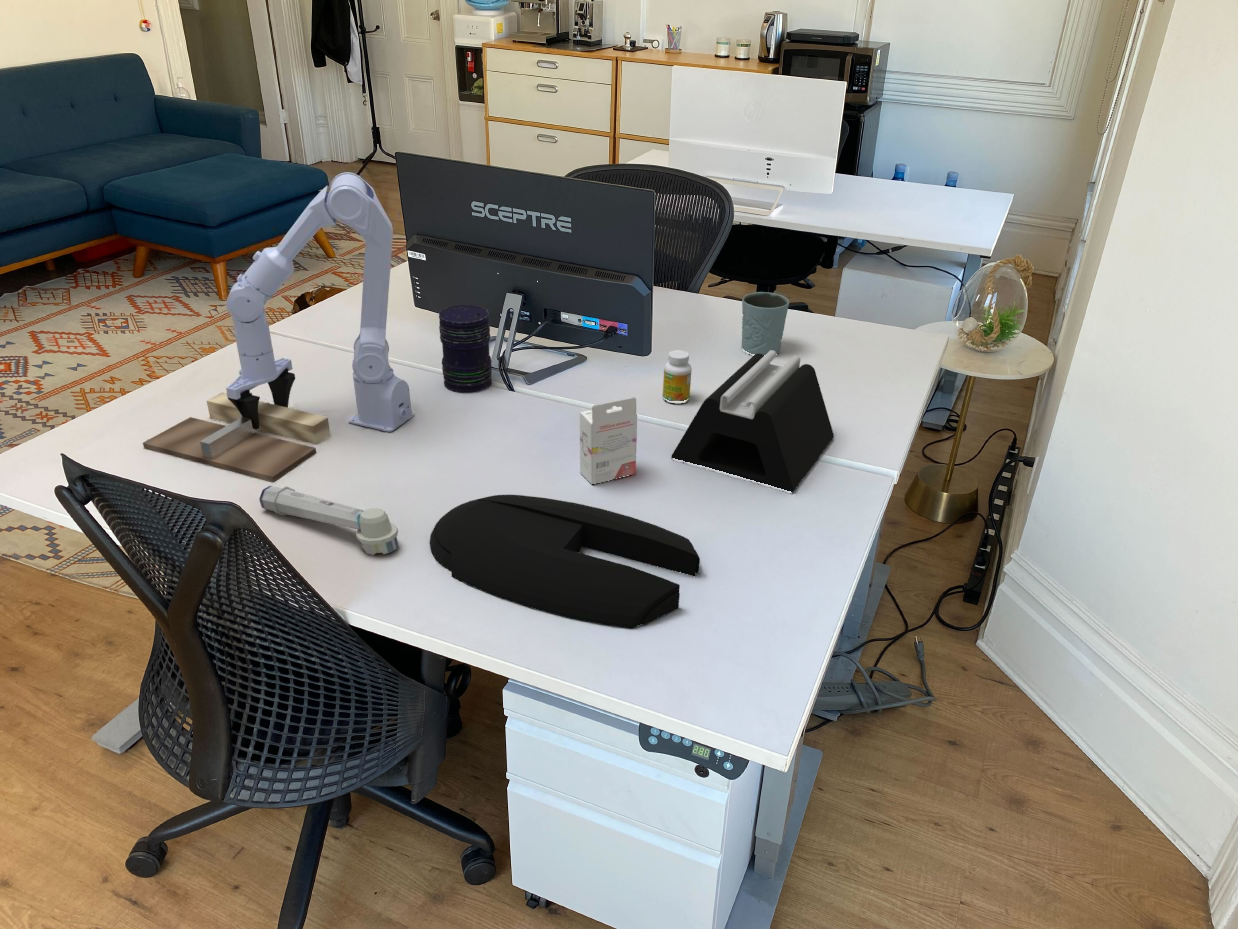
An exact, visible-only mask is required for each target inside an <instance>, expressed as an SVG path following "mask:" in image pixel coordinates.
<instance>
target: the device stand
mask: <svg viewBox="0 0 1238 929" xmlns="http://www.w3.org/2000/svg"><path fill="white" fill-rule="evenodd" d="M776 357H777V355H776V352H775V351H773V350H770V351H769V352H768V353H767V354H766V355H765V356H764V355H763V354H755V355H754V356H751V357H750V358H749V359H748V360H747V361H745V363H743V365H741V366H740V367H739V368H738V369H737V370H736V371H735V372H734V373H733V374H732V375H731V376H730V377H728V378H727V379H726V380H725V381H724V382H723V383H722V384H721V385H719V386H718V388H717V389H715V390H714V391H713V392H712V393H711V394H710V395H709V396H708V397H707V398H705V400H704V401H703V402H702V404H701V405H700V407H699V409H698V411H697V412H696V414H695V415H694V418H693V419H691V422H690V424H689V426H688V427H687V428H686V430H685V432H684V434H683V436H682V437H681V439H680V441H679V442H678V444H677V446H676V447H675V449H674V451H673V452H672V454H671V455H670V456H671V458H670V459H672V458H675V459H678V460H683V461H685V462H690V463H693V464H697V465H702V466H705V467H709V468H712V469H715V470H719V471H723V472H726V473H729V474H733V475H737V476H740V477H743V478H746V479H750V480H754V481H756V482H760V483H764V484H768V485H771V486H774V487H777V488H781V489H784V490H787V491H791V492H793V493H794V492H795V491H796V489H797V488H798V486H799V485H800V484H801V482H802V481H803V480H804V478H805V477H806V475H807V474H808V472H809V471H810V470H811V468H812V467H813V466H814V465H815V463H816V462H817V461H818V459H819V458H820V457H821V455H822V454H823V453H824V451H825V450H826V448H827V447H828V446H827V445H829V444H830V443H831V442H832V440H833V439H834V437H835V434H834V430H833V427H832V423H831V420H830V418H829V417H830V416H829V414H828V410H827V407H826V403H825V401H824V397H823V393H822V390H821V386H820V383H819V379H818V376H817V373H816V369H815V368H814V366H812V365H811V364H809V363H804V364H801V357H800V356H799V355H793V356H792V357H791V358H790V359H789V360H788V361H787V362H786V363H785V364H784V365H783V366H780V365H777V364H771V363H772V361H773V360H774V359H776ZM830 441H831V442H830ZM829 442H830V443H829ZM826 446H827V447H826ZM824 449H825V450H824ZM823 450H824V451H823ZM821 453H822V454H821ZM820 454H821V455H820ZM819 456H820V457H819ZM799 483H800V484H799ZM796 487H797V488H796Z"/></svg>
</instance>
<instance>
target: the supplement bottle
mask: <svg viewBox="0 0 1238 929" xmlns="http://www.w3.org/2000/svg"><path fill="white" fill-rule="evenodd" d="M689 357H690V354H689V353H688V352H687V351H685V350H681V349H680V350H678V349H676V350H671V351H670V352H668V356H667V360H668V361H667V362H666V363H665V364H664V368H663V383H662V387H663V388H662V398H663V397H664V398H665V399H667V400H669V401H684V400H687V399H688V398H689V399H690V395H691V384H692V382H691V380H692V370H693V368H692V365H691V364H690V363H689V359H690V358H689Z"/></svg>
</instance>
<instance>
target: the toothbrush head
mask: <svg viewBox="0 0 1238 929" xmlns="http://www.w3.org/2000/svg"><path fill="white" fill-rule="evenodd" d="M258 500H259V503H260V507H261V508H262V509H264V510H267V511H271V512H274V513H275V514H277V515H280V516H283V517H285V516H287V515H288V516H292V517H297V518H303V519H307V520H310V521H311V520H312V521H315V522H320V523H326V524H330V525H334V526H340V527H345V528H349V529H353V530H357V531H356V534H355V536H356V539H357V541H359V542H360V545H361V547H362V549H363V550H364V551H365V553H366V554H368V555H370V556H371V555H372V556H375V555H376V554H382V555H385V554H389V553H392V552H394V551H395V550H396V549H397V548H398V546H399V540H398V533H399V529H398V526H397V525H395V523H392V522H391V521H390V518H389V516H388V514H387V513H386V511H385V510H383V509H382V508H378V507H370V508H368V509H365V510H363V509H359V508H356V507H353V506H349V505H346V504H342V503H338V502H335V501H331V500H328V499H324V498H321V497H317V496H314V495H309V494H306V493H304V492H300V491H297V490H295V489H294V488H291V487H289V486H286V485H285V486H283V487H280V486H275V485H274V486H273V485H269V486H267V487H264V488H263V489H262V490H261V493H260V496H259V498H258Z"/></svg>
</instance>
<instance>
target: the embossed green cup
mask: <svg viewBox="0 0 1238 929" xmlns="http://www.w3.org/2000/svg"><path fill="white" fill-rule="evenodd" d="M741 302H742V307H741V308H742V311H741V312H742V318H741V319H742V321H741V330H742V331H741V349H742V348H743V349H744V350H745V351H747V352H749V353H751V354H763V355H766V354H767V353H768V352H769V351H770V350H773V351H775V352H776V354H778V353H779V354H780V351H781V347H782V340H783V336H784V331H785V327H786V326H785V324H786V319H787V315H788V314H787V313H788V310H789V305H790V300H789V299H788V298H787V297H786V296H784V295H782V294H778V293H774V292H768V291H767V292H765V291H755V292H751V293H747V294H745V295H743V297H742V300H741ZM779 354H778V355H779Z"/></svg>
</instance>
